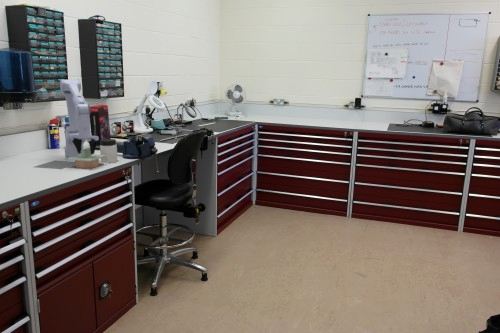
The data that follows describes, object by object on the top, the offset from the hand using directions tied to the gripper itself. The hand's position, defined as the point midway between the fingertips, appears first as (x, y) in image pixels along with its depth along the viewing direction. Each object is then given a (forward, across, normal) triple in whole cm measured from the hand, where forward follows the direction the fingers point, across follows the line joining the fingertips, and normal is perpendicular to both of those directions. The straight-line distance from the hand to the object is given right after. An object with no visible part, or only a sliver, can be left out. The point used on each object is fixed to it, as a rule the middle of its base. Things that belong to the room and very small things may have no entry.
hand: (86, 153), depth 215 cm
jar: (+7, +4, +14) cm, 16 cm away
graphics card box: (+7, -24, +50) cm, 56 cm away
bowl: (+7, 0, 0) cm, 7 cm away
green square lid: (+2, 0, 0) cm, 2 cm away
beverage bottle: (+7, -41, +44) cm, 61 cm away
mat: (+7, -16, -2) cm, 18 cm away
